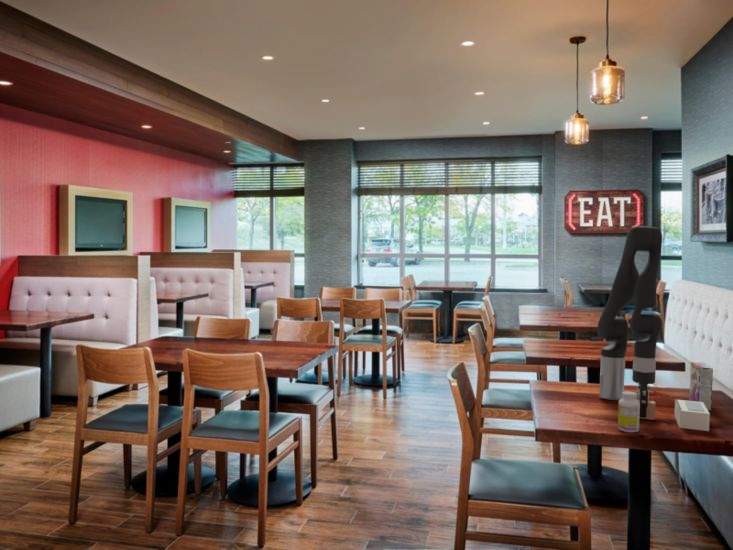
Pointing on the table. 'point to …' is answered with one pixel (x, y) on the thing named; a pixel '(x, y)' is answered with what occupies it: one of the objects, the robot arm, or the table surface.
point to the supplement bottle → (628, 412)
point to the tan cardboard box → (649, 410)
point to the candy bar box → (701, 383)
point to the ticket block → (692, 415)
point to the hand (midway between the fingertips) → (642, 414)
